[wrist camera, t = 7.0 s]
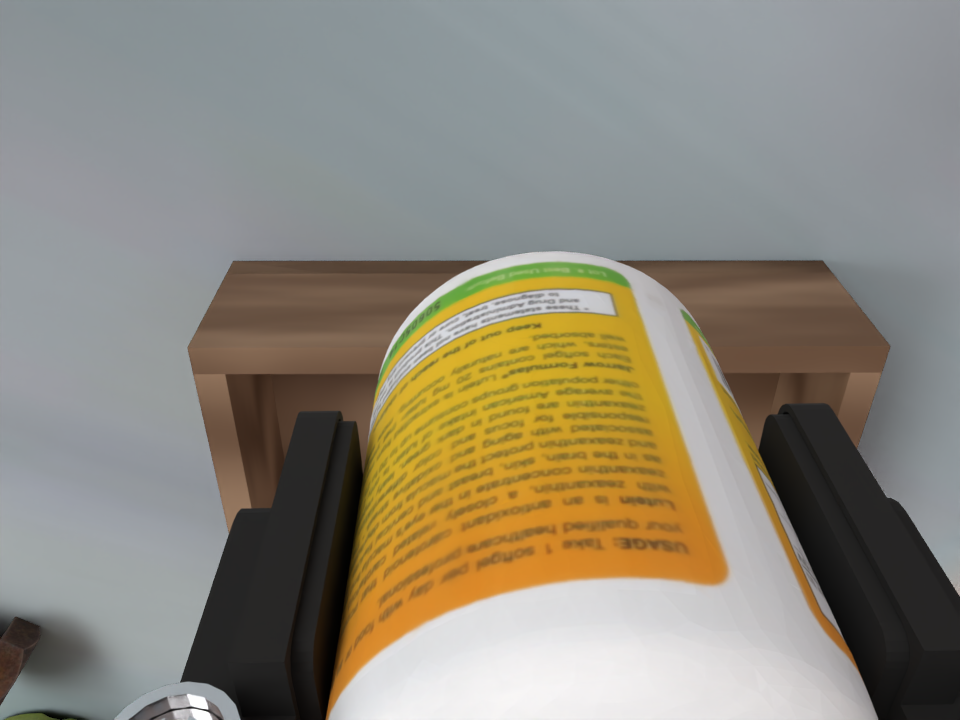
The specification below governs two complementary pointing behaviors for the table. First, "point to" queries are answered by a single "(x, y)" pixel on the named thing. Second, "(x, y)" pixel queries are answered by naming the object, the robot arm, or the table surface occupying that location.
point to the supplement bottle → (574, 520)
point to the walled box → (405, 284)
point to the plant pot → (32, 717)
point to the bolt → (15, 651)
